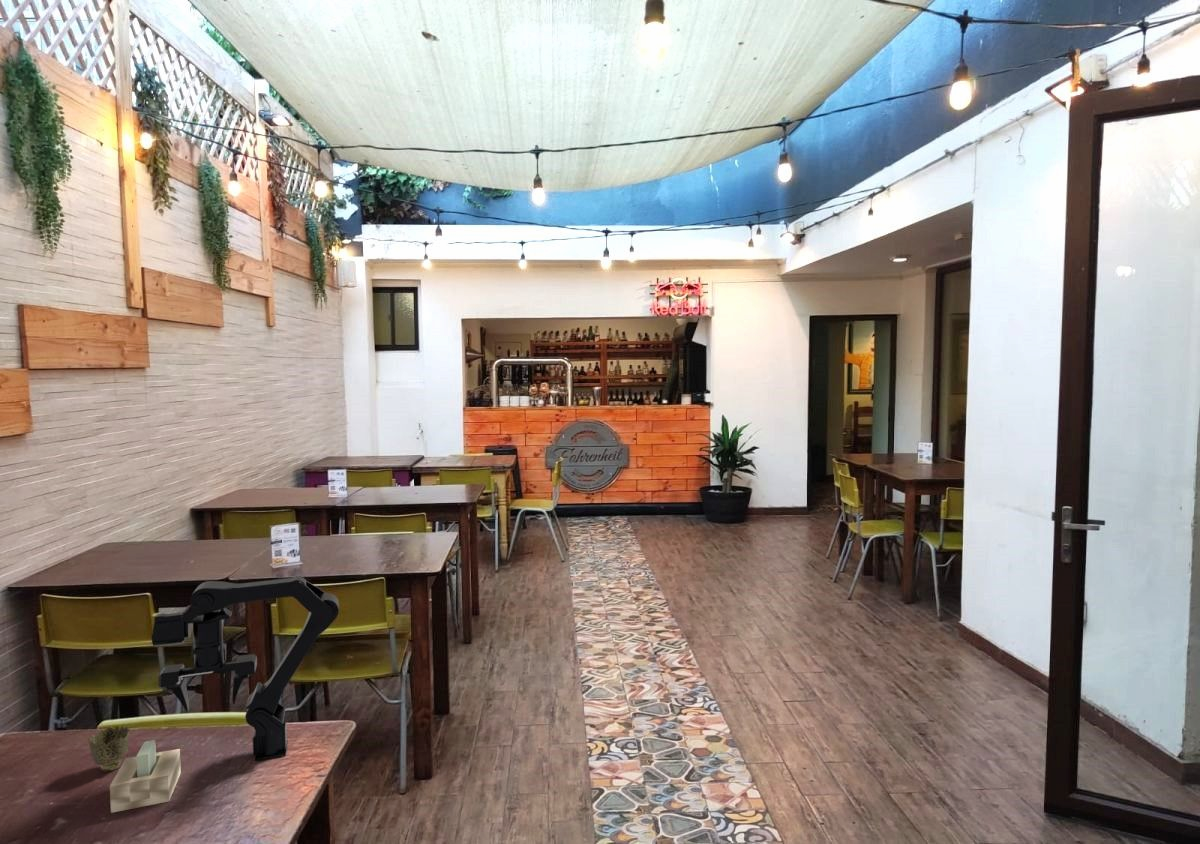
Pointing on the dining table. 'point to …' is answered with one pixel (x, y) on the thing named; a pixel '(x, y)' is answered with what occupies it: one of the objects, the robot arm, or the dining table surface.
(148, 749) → the green rectangular block
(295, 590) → the robot arm
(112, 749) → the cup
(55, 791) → the dining table surface
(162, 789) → the hollow square frame
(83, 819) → the dining table surface
